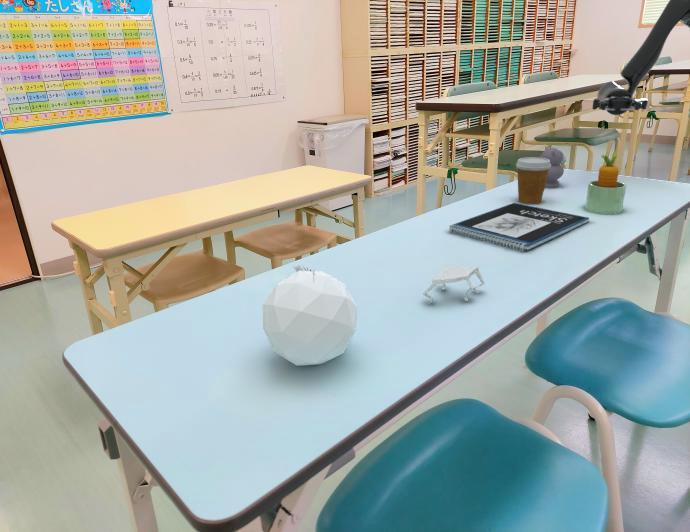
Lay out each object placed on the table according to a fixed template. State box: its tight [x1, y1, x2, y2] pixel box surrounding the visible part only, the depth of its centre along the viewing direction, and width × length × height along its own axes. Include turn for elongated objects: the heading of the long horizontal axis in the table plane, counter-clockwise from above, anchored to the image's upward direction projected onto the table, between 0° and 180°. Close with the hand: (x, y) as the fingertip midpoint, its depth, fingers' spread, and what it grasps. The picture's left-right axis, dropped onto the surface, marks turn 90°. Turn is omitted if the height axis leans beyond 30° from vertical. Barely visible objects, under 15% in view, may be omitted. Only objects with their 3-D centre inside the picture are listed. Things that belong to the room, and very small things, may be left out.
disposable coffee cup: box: [515, 156, 551, 205], centre depth 149 cm, size 10×10×12 cm
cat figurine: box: [540, 145, 565, 189], centre depth 165 cm, size 8×8×12 cm
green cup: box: [585, 179, 627, 215], centre depth 140 cm, size 9×9×7 cm
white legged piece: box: [422, 265, 486, 304], centre depth 95 cm, size 12×8×5 cm
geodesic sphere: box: [262, 265, 358, 367], centre depth 77 cm, size 15×14×14 cm
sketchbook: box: [448, 202, 590, 252], centre depth 130 cm, size 22×30×2 cm
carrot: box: [597, 150, 619, 188], centre depth 139 cm, size 5×5×15 cm
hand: (620, 106), depth 147 cm, fingers open, 8 cm apart
